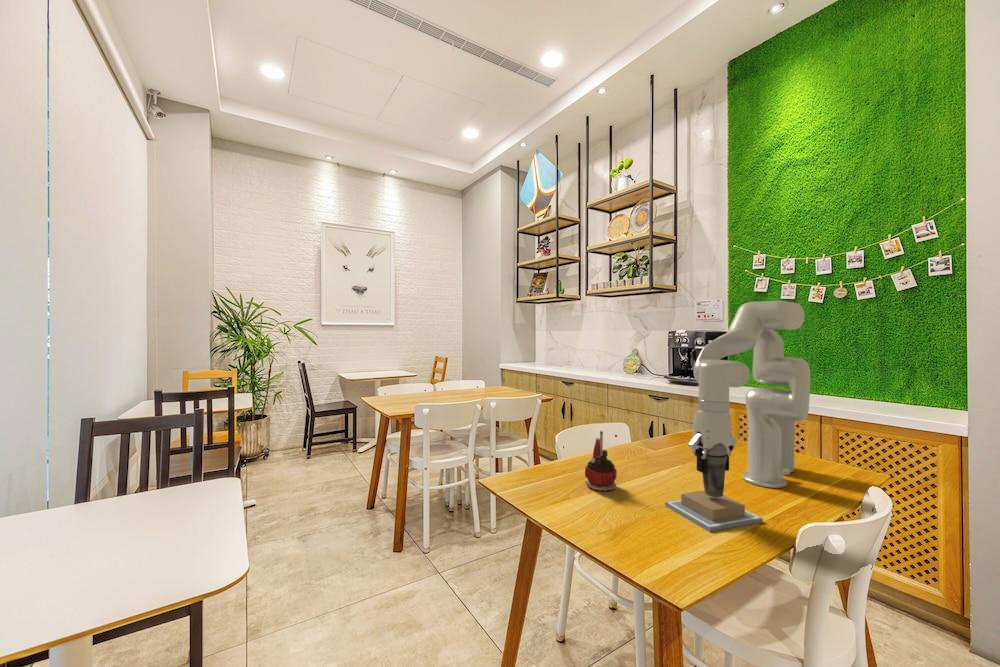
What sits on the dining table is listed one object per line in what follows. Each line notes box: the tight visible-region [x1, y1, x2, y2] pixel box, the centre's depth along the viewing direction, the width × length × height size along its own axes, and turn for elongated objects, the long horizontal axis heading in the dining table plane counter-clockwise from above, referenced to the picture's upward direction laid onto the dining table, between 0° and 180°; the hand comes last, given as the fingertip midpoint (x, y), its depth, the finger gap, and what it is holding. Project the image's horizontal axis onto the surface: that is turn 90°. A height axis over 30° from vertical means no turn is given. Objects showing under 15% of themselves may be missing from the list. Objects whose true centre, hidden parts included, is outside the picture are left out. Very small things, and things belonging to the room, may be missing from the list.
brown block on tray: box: [664, 490, 764, 533], centre depth 112 cm, size 18×16×4 cm
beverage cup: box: [701, 443, 728, 497], centre depth 112 cm, size 7×7×20 cm
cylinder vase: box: [774, 418, 796, 473], centre depth 150 cm, size 12×12×25 cm
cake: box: [584, 430, 618, 491], centre depth 131 cm, size 11×9×18 cm
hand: (712, 470), depth 112 cm, fingers closed on beverage cup, 6 cm apart
